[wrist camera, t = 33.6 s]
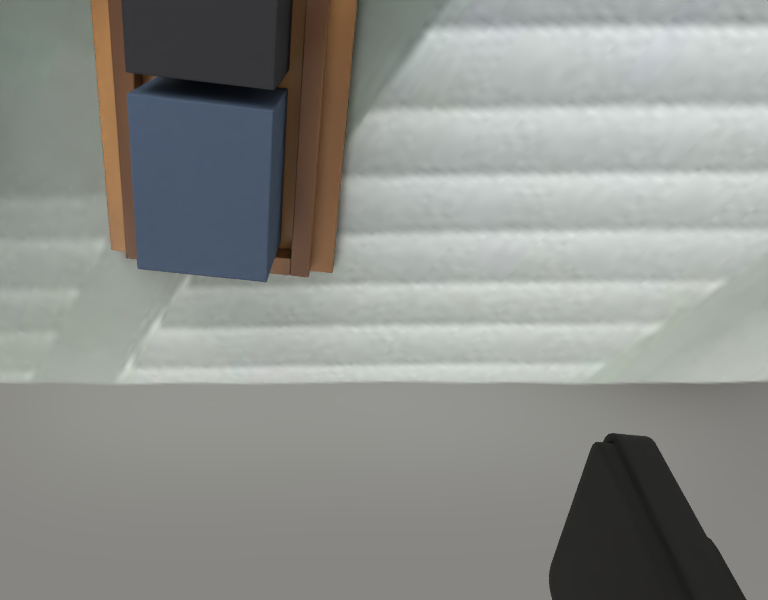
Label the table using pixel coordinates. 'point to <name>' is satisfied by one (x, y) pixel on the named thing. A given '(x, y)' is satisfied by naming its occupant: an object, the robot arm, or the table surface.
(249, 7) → the charcoal pad
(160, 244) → the slate pad
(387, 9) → the table surface
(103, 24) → the brown wooden flat tray
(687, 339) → the table surface
